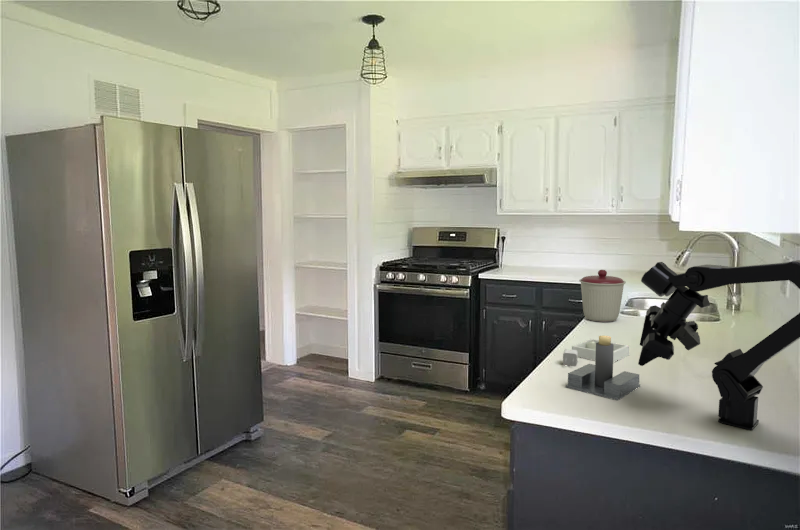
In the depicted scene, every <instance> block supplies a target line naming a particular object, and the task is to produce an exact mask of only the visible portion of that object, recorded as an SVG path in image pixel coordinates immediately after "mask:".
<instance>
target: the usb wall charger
mask: <svg viewBox="0 0 800 530" xmlns="http://www.w3.org/2000/svg"><path fill="white" fill-rule="evenodd" d="M578 358H579V357H578V352H577V350H572V349H571V348H570V349H568V348H564V351H563V353H562V365H563V366H565V365H567V367H577V364H578Z"/></svg>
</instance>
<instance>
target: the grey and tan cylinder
mask: <svg viewBox="0 0 800 530" xmlns="http://www.w3.org/2000/svg"><path fill="white" fill-rule="evenodd" d="M598 340H599V342H598V343H596V358H595V364H594V365H595V385H596V386H599V387H604V382H605V381H607V380H608V379H610V378H612V377H614V375H613V373H614V363H613V351H614V345H613V344H611V342H612V337H611V336H609V335H598Z"/></svg>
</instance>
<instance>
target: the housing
mask: <svg viewBox="0 0 800 530" xmlns="http://www.w3.org/2000/svg"><path fill="white" fill-rule="evenodd" d="M638 387H639V388H641V384H640V374H639V373H634V372H629V371H625V370H624V371H622V372H620V373H618V374H616V375H613V377H612V378H610V379H608V380H607V381H605V382H604V387H599V386H596V385H595V364H592V363H587V364H584V365H583V366H581V367H579V368H577V369H574V370H572V371H570V372H567V384H565V388H567V389H571V390H576V391H578V392H579V391H580V392H584V393H587V392H588V393H587V394H592V395H595V394H596V395H595V396H600V397H603V398H607V399H610V398H612V399H611V400H614V399H615V401H619V400H621V399H623V398H624V397H626V396H628V395H629V394H631V393H632V392H634V391H635V389H636V388H637V389H639V388H638ZM637 389H636V390H637ZM633 390H634V391H633ZM630 392H631V393H630ZM625 395H626V396H625ZM620 398H621V399H620ZM618 399H619V400H618Z"/></svg>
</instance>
